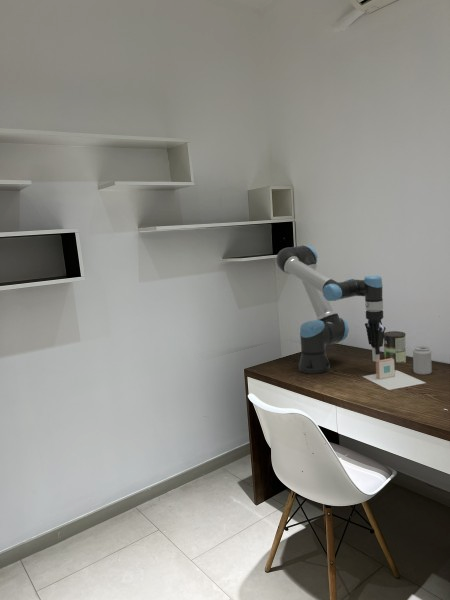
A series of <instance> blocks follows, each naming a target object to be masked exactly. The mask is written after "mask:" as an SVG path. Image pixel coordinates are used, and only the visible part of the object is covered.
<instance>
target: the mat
mask: <svg viewBox="0 0 450 600" xmlns="http://www.w3.org/2000/svg"><path fill="white" fill-rule="evenodd" d="M362 378H365V379H367V380H369V381H370V382H372V383H374V384H376V385H378V386H381V388H384V389H386V390H388V391H392V390H396V389H402V388H407V387H412V386H418V385H423V384H426V382H425V381H423V380H420V379H418V378H416V377H413V376H412V375H409V374H406V373H405V372H402V371H399V370H397V369H396V370H395V377H389V378H384V379H377V378H376V373H374V374H373V373H372V374H367V375H362Z"/></svg>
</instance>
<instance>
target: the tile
mask: <svg viewBox="0 0 450 600" xmlns="http://www.w3.org/2000/svg"><path fill="white" fill-rule="evenodd" d="M395 364H396V363H394V359H393V358H389V359H380V360H377V361H375V374H376V378H377V379H384V378H389V377H395V367H396V366H395Z"/></svg>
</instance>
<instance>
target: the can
mask: <svg viewBox="0 0 450 600" xmlns="http://www.w3.org/2000/svg"><path fill="white" fill-rule="evenodd" d="M412 363H413V365H412V366H413V367H412V368H413V373H414V374H417V375H430V374H432V371H433V369H432V351H431V349H430V347H429V346H424V345H421V346H420V345H418V346H415V347H414V349H413V351H412Z"/></svg>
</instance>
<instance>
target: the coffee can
mask: <svg viewBox="0 0 450 600" xmlns="http://www.w3.org/2000/svg"><path fill="white" fill-rule="evenodd" d="M406 334H407V333H405V332H403V331H398V330H397V331H396V330H393V331H391V330H390V331H386V332H384V339H383V356H384V357H383V358H384V359H389V358H393V359H394V364H399V363H404V364H405V363H406V362H407V357H406V356H407V355H406V353H407V351H406V350H407V349H406Z"/></svg>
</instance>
